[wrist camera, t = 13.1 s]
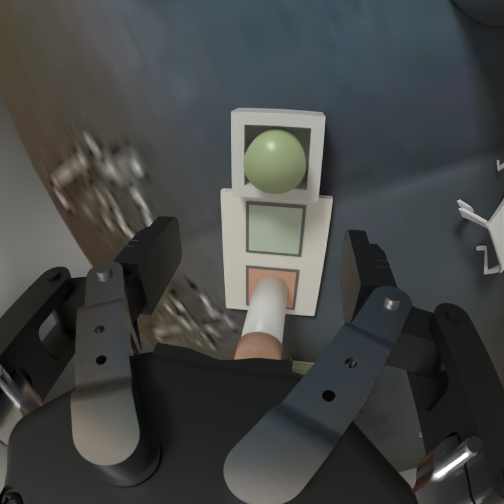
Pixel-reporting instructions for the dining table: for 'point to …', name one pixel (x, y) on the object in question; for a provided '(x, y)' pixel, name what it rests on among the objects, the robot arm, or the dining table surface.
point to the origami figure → (499, 227)
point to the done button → (275, 161)
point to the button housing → (296, 121)
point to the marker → (264, 320)
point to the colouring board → (274, 247)
